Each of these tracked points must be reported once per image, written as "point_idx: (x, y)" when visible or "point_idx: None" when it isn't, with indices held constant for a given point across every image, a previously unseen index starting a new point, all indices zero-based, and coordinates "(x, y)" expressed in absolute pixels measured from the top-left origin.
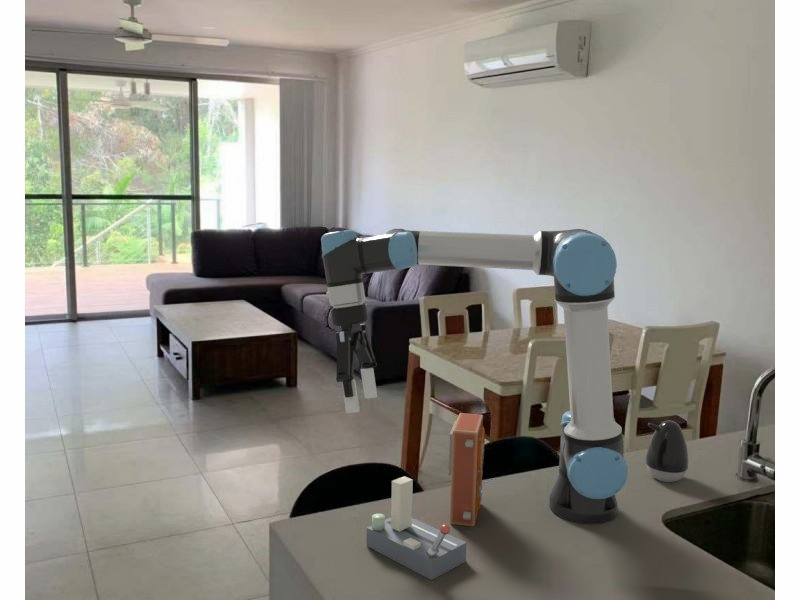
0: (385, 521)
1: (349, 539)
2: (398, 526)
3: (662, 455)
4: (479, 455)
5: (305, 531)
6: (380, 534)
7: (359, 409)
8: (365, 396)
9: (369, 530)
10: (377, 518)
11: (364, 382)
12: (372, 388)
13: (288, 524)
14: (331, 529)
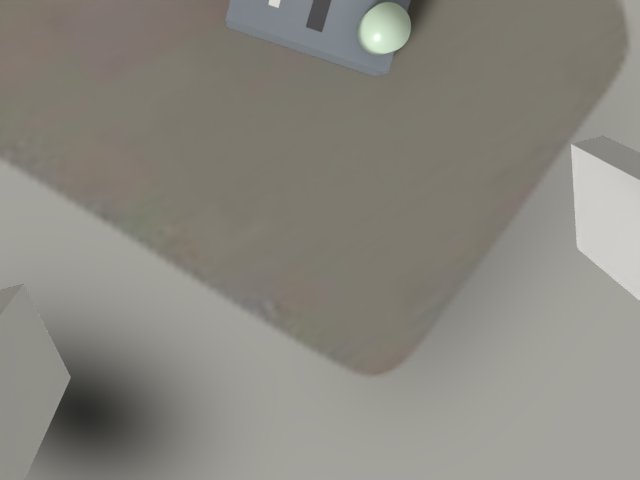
0: (316, 37)
1: (361, 144)
2: None
3: None
4: None
5: (381, 284)
6: (408, 6)
7: (581, 148)
8: (61, 382)
9: (391, 59)
10: (404, 21)
11: (7, 473)
12: (3, 357)
13: (368, 350)
14: (334, 226)
